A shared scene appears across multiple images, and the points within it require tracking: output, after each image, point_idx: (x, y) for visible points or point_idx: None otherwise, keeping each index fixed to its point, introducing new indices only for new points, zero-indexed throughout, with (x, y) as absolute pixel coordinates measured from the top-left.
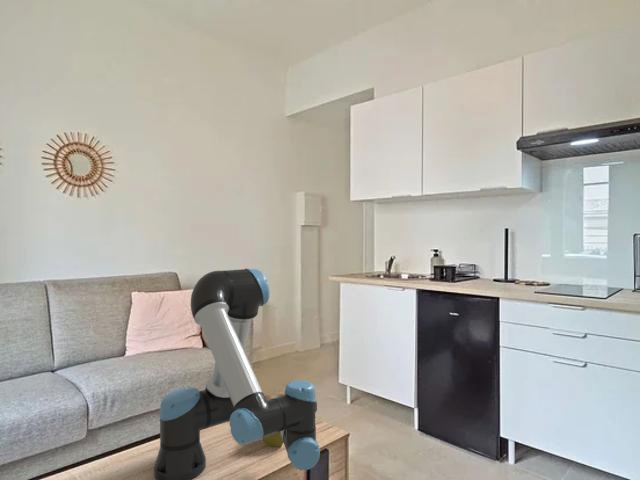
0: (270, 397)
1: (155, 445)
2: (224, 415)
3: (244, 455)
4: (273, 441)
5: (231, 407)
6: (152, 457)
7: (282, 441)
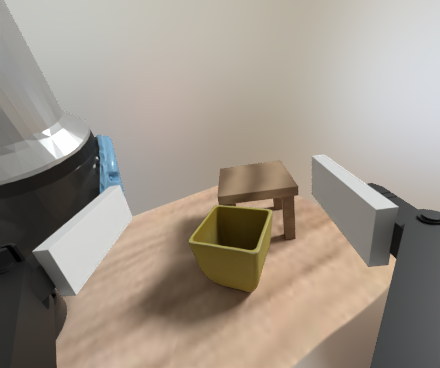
0: (232, 171)
1: None
2: (37, 240)
3: (156, 314)
4: (229, 282)
5: (48, 217)
6: None
7: (253, 287)
